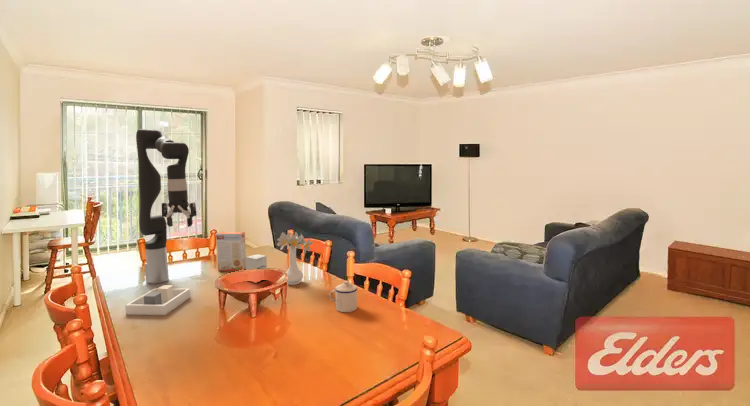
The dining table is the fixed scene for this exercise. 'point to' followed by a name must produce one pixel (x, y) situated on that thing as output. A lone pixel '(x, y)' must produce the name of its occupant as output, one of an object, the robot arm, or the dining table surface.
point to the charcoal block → (153, 298)
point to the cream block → (166, 292)
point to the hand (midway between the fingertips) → (180, 226)
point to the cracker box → (231, 251)
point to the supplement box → (256, 262)
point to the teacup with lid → (345, 297)
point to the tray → (140, 309)
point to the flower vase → (293, 254)
